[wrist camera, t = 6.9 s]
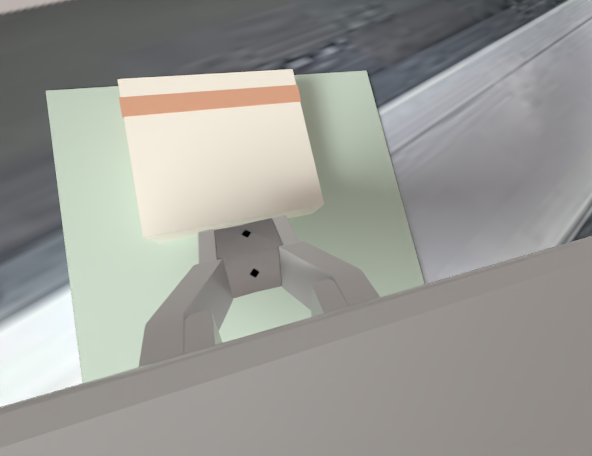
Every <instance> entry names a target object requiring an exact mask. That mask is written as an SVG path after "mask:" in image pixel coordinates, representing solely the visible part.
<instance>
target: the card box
mask: <svg viewBox="0 0 592 456" xmlns="http://www.w3.org/2000/svg"><path fill="white" fill-rule="evenodd" d="M118 85H119V92H120V97H119V101H120V107H121V113H122V117H123V118H124V122H125V129H126V135H127V141H128V147H129V153H130V159H131V166H132V172H133V178H134V184H135V190H136V196H137V203H138V209H139V215H140V221H141V227H142V233H143V238H147V239H150V240H153V241H156V242H166V241H171V240H176V239H181V238H187V237H192V236H197V235H198V232H199V231H203V230H208V229H214V228H220V227H225V226H231V225H237V224H243V223H244V224H245V223H250V222H255V221H259V220H264V219H269V218H272V217H277V216H281V215H286V216H287V218H293V217H298V216H304V215H309V214H313V213H314V212H315V211H316V210H318V209H319V208H320V207H322V206H323V205H324V200H323V196H322V192H321V188H320V183H319V179H318V175H317V171H316V167H315V162H314V158H313V154H312V150H311V145H310V141H309V137H308V133H307V128H306V124H305V120H304V116H303V111H302V107H301V98H300V94H299V89H298V85H296V82H295V77H294V73H293V69H287V70H270V71H252V72H235V73H217V74H200V75H182V76H165V77H147V78H130V79H118Z"/></svg>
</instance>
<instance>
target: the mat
mask: <svg viewBox="0 0 592 456" xmlns="http://www.w3.org/2000/svg"><path fill="white" fill-rule="evenodd" d="M294 77H295V82H296V85H298V89H299V94H300V98H301V107H302V111H303V116H304V120H305V124H306V128H307V133H308V137H309V141H310V145H311V150H312V154H313V158H314V162H315V167H316V171H317V175H318V179H319V183H320V188H321V192H322V196H323V200H324V205H323V206H322V207H320V208H319V209H318V210H316V211H315V212H314V213H313V214H309V215H304V216H298V217H293V218H288V220H289V222H290V224H291V226H292V228H293V230H294V232H295V234H296V236H297V238H298V240H299V242H301V241H305V242H307V243H309V244H311V245H313V246H315V247H317V248H319V249H321V250H323V251H325V252H327V253H329V254H331V255H333V256H335V257H337V258H339V259H341V260H343V261H345V262H347V263H349V264H351V265H353V266H355V267H357V268H359V269H361V270H362V271H363V273H364V274H365V276H366V277H367V279H368V280H369V281H370V283H371V284H372V286H373V287H374V289H375V290H376V292H377V293H378V294H379V296H380V297H383V296H386V295H390V294H393V293H396V292H400V291H403V290H407V289H410V288H414V287H417V286H421V285H424V280H423V276H422V273H421V269H420V265H419V262H418V258H417V254H416V251H415V247H414V243H413V240H412V236H411V232H410V228H409V225H408V221H407V217H406V214H405V210H404V206H403V203H402V199H401V195H400V192H399V188H398V184H397V181H396V177H395V173H394V170H393V166H392V162H391V159H390V155H389V151H388V148H387V144H386V140H385V137H384V133H383V129H382V126H381V122H380V118H379V115H378V111H377V107H376V104H375V100H374V96H373V93H372V89H371V85H370V82H369V78H368V74H367V71H353V72H337V73H321V74H305V75H294ZM46 97H47V105H48V113H49V121H50V129H51V137H52V145H53V153H54V160H55V168H56V176H57V184H58V192H59V200H60V208H61V216H62V224H63V232H64V240H65V248H66V256H67V264H68V272H69V280H70V287H71V295H72V303H73V311H74V319H75V327H76V335H77V343H78V351H79V359H80V367H81V375H82V383H85V382H89V381H92V380H96V379H99V378H102V377H106V376H109V375H113V374H116V373H120V372H123V371H127V370H130V369H134V368H137V367H139V361H140V354H141V348H142V342H143V336H144V329H145V324H146V323H147V322H148V321H149V319H150V318H151V317H152V316H153V314H154V313H155V312H156V311H157V310H158V308H159V307H160V306H161V305H162V303H163V302H164V301H165V300H166V299H167V297H168V296H169V295H170V294H171V292H172V291H173V290H174V289H175V288H176V286H177V285H178V284H179V283H180V281H181V280H182V279H183V278H184V277H185V275H186V274H187V273H188V272H189V270H190V269H191V268H192V267H193V266H194V265H196V264H199V258H198V235H197V236H192V237H187V238H181V239H176V240H171V241H166V242H156V241H153V240H150V239H147V238H143V233H142V227H141V221H140V215H139V209H138V203H137V196H136V190H135V184H134V178H133V172H132V166H131V159H130V153H129V147H128V141H127V135H126V129H125V122H124V118H123V117H122V113H121V107H120V101H119V97H120V92H119V86H114V87H98V88H82V89H66V90H50V91H46ZM310 317H311V310H310V309H308V308H307V307H306V306H305V305H303V304H302V303H301V302H300V301H298V300H297V299H296V298H295V297H293V296H292V295H291V294H290V293H289V292H287V291H286V290H285V289H284V288H282V286H280V287H276V288H272V289H267V290H263V291H258V292H255V293H251V294H248V295H244V296H240V297H237V298H233V301H232V304H231V306H230V308H229V310H228V312H227V315H226V317H225V319H224V321H223V323H222V325H221V328H220V330H219V334H220V337H221V340H222V342H227V341H230V340H234V339H237V338H241V337H244V336H248V335H251V334H255V333H258V332H261V331H265V330H268V329H272V328H275V327H279V326H282V325H286V324H289V323H293V322H296V321H300V320H303V319H306V318H310Z"/></svg>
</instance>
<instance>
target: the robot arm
mask: <svg viewBox="0 0 592 456" xmlns="http://www.w3.org/2000/svg"><path fill="white" fill-rule="evenodd" d="M198 258H199V264H196V265H194V266H193V267H192V268H191V269H190V270H189V272H188V273H187V274H186V275H185V277H184V278H183V279H182V280H181V281H180V283H179V284H178V285H177V286H176V288H175V289H174V290H173V291H172V292H171V294H170V295H169V296H168V297H167V299H166V300H165V301H164V302H163V303H162V305H161V306H160V307H159V308H158V310H157V311H156V312H155V313H154V314H153V316H152V317H151V318H150V319H149V321H148V322H147V323H146V324H145V329H144V336H143V342H142V348H141V354H140V361H139V367H137V368H134V369H130V370H127V371H123V372H120V373H116V374H113V375H109V376H106V377H102V378H99V379H96V380H92V381H89V382H85V383H82V384H78V385H75V386H71V387H68V388H64V389H61V390H57V391H54V392H51V393H47V394H44V395H40V396H37V397H33V398H30V399H26V400H23V401H19V402H16V403H13V404H9V405H6V406H2V407H0V456H592V236H590V237H586V238H583V239H580V240H576V241H573V242H569V243H566V244H562V245H559V246H555V247H552V248H549V249H545V250H542V251H538V252H535V253H531V254H528V255H524V256H521V257H517V258H514V259H511V260H507V261H504V262H500V263H497V264H493V265H490V266H486V267H483V268H479V269H476V270H473V271H469V272H466V273H462V274H459V275H455V276H452V277H448V278H445V279H441V280H438V281H435V282H431V283H428V284H424V285H421V286H417V287H414V288H410V289H407V290H403V291H400V292H396V293H393V294H390V295H386V296H383V297H380V296H379V294H378V293H377V292H376V290H375V289H374V287H373V286H372V284H371V283H370V281H369V280H368V279H367V277H366V276H365V274H364V273H363V271H362V270H361V269H359V268H357V267H355V266H353V265H351V264H349V263H347V262H345V261H343V260H341V259H339V258H337V257H335V256H333V255H331V254H329V253H327V252H325V251H323V250H321V249H319V248H317V247H315V246H313V245H311V244H309V243H307V242H305V241H301V242H299V240H298V238H297V236H296V234H295V232H294V230H293V228H292V226H291V224H290V222H289V220H288V218H287V216H286V215H281V216H277V217H272V218H269V219H264V220H259V221H255V222H250V223H245V224H244V223H243V224H237V225H231V226H225V227H220V228H214V229H208V230H203V231H199V232H198ZM280 286H282V288H284V289H285V290H286V291H287V292H289V293H290V294H291V295H292V296H293V297H295V298H296V299H297V300H298V301H300V302H301V303H302V304H303V305H305V306H306V307H307V308H308V309H310V310H311V317H310V318H306V319H303V320H300V321H296V322H293V323H289V324H286V325H282V326H279V327H275V328H272V329H268V330H265V331H261V332H258V333H255V334H251V335H248V336H244V337H241V338H237V339H234V340H230V341H227V342H222V340H221V337H220V334H219V330H220V328H221V325H222V323H223V321H224V319H225V317H226V315H227V312H228V310H229V308H230V306H231V304H232V301H233V298H237V297H240V296H244V295H248V294H251V293H255V292H258V291H263V290H267V289H272V288H276V287H280Z"/></svg>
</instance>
